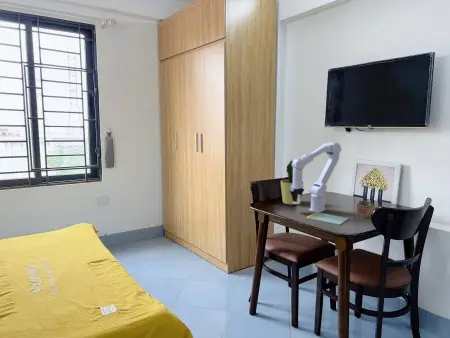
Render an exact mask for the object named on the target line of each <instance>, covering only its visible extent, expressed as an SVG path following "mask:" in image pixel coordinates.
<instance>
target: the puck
mask: <svg viewBox="0 0 450 338" xmlns="http://www.w3.org/2000/svg"><path fill="white" fill-rule="evenodd" d="M300 198H301V199H302V196H301V195H298V196H297V202H293V203H294V205H301V199H300Z"/></svg>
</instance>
